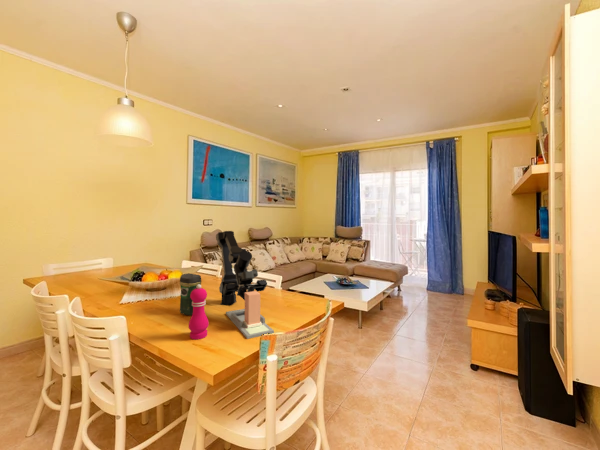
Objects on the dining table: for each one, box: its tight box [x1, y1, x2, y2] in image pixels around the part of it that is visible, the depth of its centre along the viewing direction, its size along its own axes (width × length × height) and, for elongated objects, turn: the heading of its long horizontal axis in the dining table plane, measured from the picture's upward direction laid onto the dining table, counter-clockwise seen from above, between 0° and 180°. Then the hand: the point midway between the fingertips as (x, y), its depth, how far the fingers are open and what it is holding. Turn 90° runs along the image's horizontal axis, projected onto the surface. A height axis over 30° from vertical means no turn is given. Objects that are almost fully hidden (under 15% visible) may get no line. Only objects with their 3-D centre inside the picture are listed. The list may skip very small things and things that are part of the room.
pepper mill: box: [188, 284, 210, 340], centre depth 104 cm, size 7×7×20 cm
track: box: [225, 308, 275, 340], centre depth 118 cm, size 30×11×3 cm, turn 30°
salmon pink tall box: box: [243, 290, 262, 328], centre depth 113 cm, size 6×6×13 cm
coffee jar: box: [179, 273, 202, 316], centre depth 129 cm, size 10×8×19 cm
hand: (250, 304), depth 115 cm, fingers closed, pressing on salmon pink tall box
